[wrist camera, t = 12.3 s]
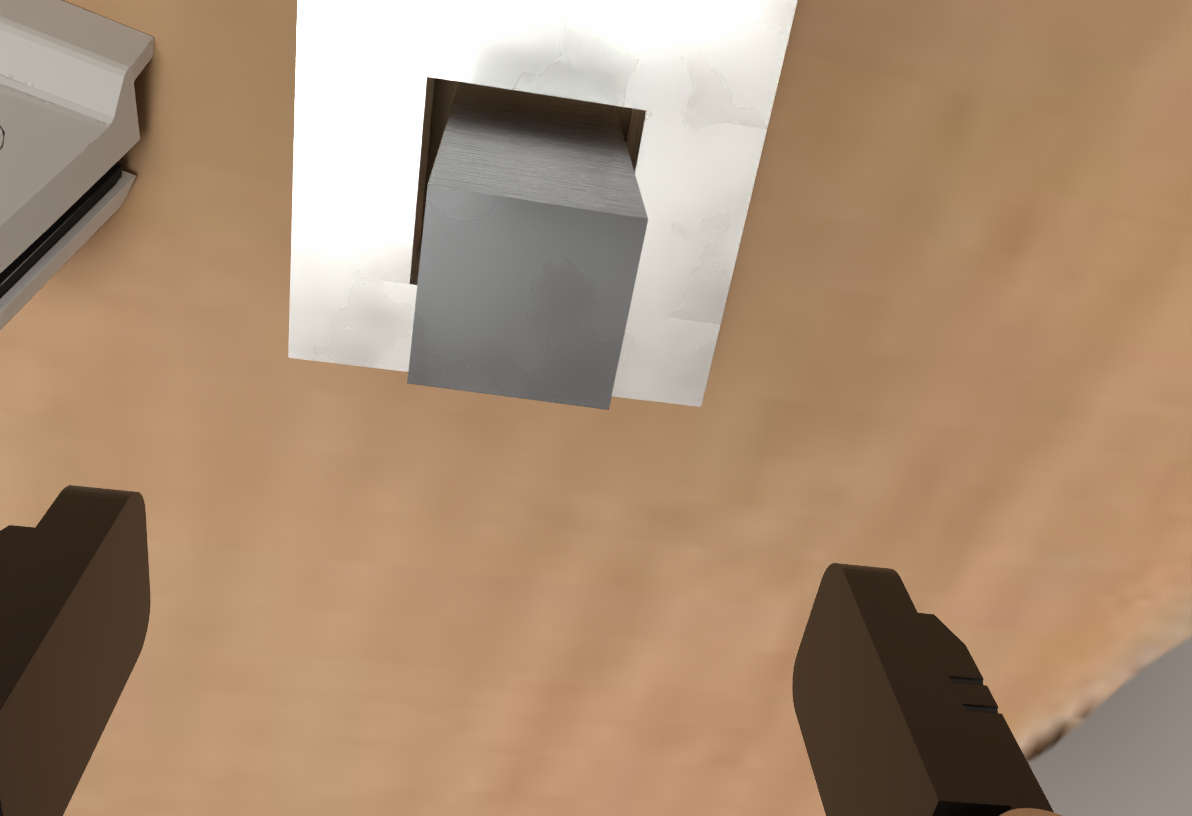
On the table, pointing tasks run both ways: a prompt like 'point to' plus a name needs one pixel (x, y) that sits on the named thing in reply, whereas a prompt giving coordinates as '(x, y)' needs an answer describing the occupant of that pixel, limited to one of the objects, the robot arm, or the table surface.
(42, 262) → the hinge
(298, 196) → the square hole plate
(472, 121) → the square peg
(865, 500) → the table surface
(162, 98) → the table surface
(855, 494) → the table surface
